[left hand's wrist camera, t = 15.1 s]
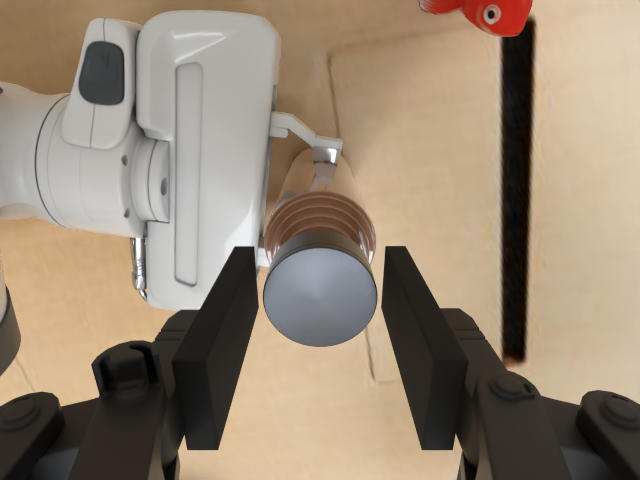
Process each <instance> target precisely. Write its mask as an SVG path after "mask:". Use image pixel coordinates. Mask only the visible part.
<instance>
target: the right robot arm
mask: <svg viewBox="0 0 640 480" xmlns="http://www.w3.org/2000/svg"><path fill="white" fill-rule="evenodd" d="M281 49H282V39H281V37H280V35H279V33H278V32H277V30H276V29H275V27H274V26H273V25H272V24H271V23H270V22H269V21H268V20H267V19H266V18H264V17H262V16H258V15H253V14H248V13H240V12H231V11H217V10H176V11H168V12H164V13H160V14H158V15H156V16H154V17H152V18H151V19H149V20H148V21H147V22H146V23H145V24H144V26H143V25H141V24H138V23H135V22H131V21H127V20H122V19H116V18H95V19H93V20H92V21H91V22H90V23H89V25H88V27H87V30H86V33H85V37H84V41H83V46H82V51H81V55H80V59H79V64H78V68H77V72H76V76H75V79H74V83H73V87H72V90H71V93H61V94H54V95H44V94H39V93H36V92H34V91H32V90H30V89H27V88H25V87H23V86H20V85H17V84H13V83H8V82H2V81H0V220H20V219H27V218H36V219H41V220H44V221H47V222H49V223H51V224H53V225H56V226H58V227H62V228H66V229H72V230H80V231H87V232H94V233H102V234H110V235H117V236H124V237H130V244H131V257H132V262H133V272H132V283H133V286H134V289H136V290H139V293H140V295H141V296H142V298H143V299H144V300H145V301H146V302H147V303H148V305H150V306H152V307H154V308H159V309H167V310H175V311H180V310H200V308H201V306H202V304H203V302H204V301H205V299H206V297H207V295H208V293H209V292H210V290H211V288H212V286H213V284H214V283H215V281H216V279H217V277H218V275H219V274H220V272H221V270H222V268H223V266H224V265H225V263H226V261H227V259H228V257H229V255H230V254H231V252H232V250H233V248H234V246H254V249H255V263H256V277H257V291H258V282H259V272H260V266H266V267H270V264H269V262H268V259H267V256H266V252H265V245H264V239H265V237H263V231H264V221H265V211H266V201H267V191H268V181H269V171H270V161H271V150H272V140H273V137H280V138H286V137H287V136H288V135H289V134H290V130H291V131H292V132H294V133H295V134H296V135H297V136H299V137H300V138H301V139H302V140H304V141H305V142H306V143H308V144H309V145H310V146H311V147H313V148H314V152H313V161H317V162H324V161H327V162H329V163H331V164H339V162H340V157H341V151H342V145H343V140H342V139H339V138H333V137H327V136H320V135H316V133H315V132H314V131H313V130H312V129H311V128H309V127H308V126H307V125H306V124H304V123H303V122H302V121H301V120H300V119H298V118H297V117H296V116H295V115H293V114H291V113H285V112H278V111H275V110H276V100H277V90H278V80H279V70H280V59H281ZM146 288H147V293H146V292H145V289H146ZM20 342H21V335H20V330H19V327H18V323H17V320H16V316H15V312H14V309H13V305H12V301H11V298H10V294H9V290H8V288H7V286H6V284H5V280H4V273H3V266H2V260H1V253H0V376H1V375H2V374H3V373H4V372H5V370H6V369H7V368H8V367H9V365H10V364H11V363H12V361H13V360H14V358H15V356H16V355H17V352H18V350H19V347H20Z"/></svg>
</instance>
